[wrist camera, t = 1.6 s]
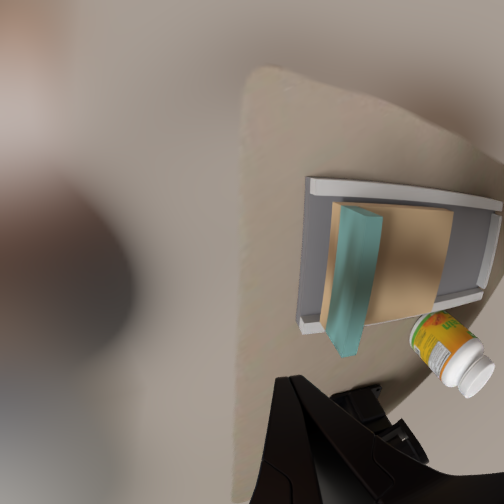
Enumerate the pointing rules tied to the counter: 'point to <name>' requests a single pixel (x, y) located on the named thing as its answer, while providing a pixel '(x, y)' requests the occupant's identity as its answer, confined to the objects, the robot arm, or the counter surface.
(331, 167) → the counter surface
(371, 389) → the robot arm
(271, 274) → the counter surface
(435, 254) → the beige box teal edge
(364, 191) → the track
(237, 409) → the counter surface
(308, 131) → the counter surface
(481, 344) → the supplement bottle
